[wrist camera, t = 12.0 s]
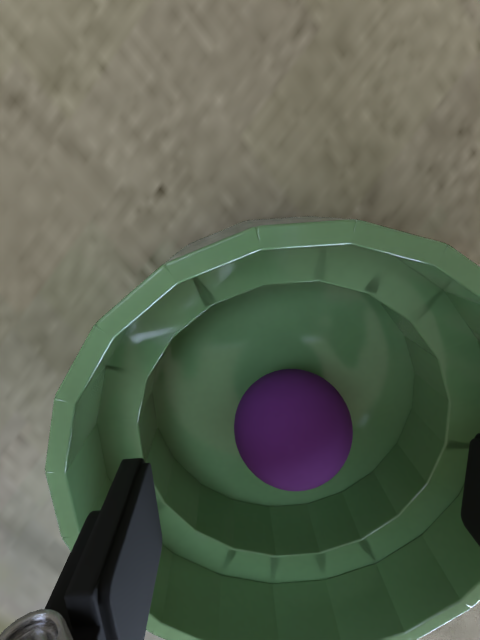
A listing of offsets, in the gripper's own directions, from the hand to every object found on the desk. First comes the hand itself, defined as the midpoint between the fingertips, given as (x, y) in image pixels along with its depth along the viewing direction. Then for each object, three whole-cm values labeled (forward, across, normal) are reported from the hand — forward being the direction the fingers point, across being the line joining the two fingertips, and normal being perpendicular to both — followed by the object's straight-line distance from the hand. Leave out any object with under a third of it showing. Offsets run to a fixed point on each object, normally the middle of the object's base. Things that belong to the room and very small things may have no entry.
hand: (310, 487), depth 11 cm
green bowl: (+6, 0, 0) cm, 6 cm away
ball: (+3, 0, 0) cm, 3 cm away
